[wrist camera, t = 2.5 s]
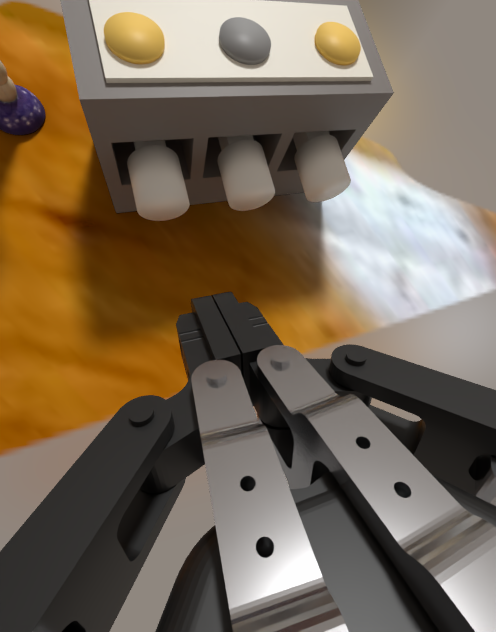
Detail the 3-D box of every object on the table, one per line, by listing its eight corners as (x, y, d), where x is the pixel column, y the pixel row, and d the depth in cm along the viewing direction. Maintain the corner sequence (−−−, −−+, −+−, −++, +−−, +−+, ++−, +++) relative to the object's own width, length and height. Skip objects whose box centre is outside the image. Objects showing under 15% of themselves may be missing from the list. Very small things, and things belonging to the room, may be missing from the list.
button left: (139, 223, 24) (133, 195, 20) (123, 146, 25) (115, 107, 21) (188, 217, 25) (190, 189, 21) (170, 143, 26) (170, 105, 22)
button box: (116, 213, 28) (76, 89, 16) (98, 123, 29) (50, -48, 18) (321, 190, 33) (399, 85, 22) (297, 115, 34) (358, -21, 23)
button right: (299, 204, 27) (317, 177, 24) (279, 137, 28) (293, 102, 25) (336, 199, 28) (359, 173, 25) (315, 135, 29) (334, 101, 26)
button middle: (224, 213, 25) (233, 185, 22) (206, 141, 26) (211, 104, 23) (267, 208, 26) (281, 180, 23) (247, 139, 27) (258, 103, 24)
